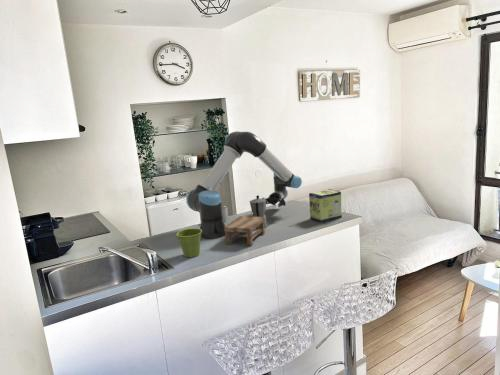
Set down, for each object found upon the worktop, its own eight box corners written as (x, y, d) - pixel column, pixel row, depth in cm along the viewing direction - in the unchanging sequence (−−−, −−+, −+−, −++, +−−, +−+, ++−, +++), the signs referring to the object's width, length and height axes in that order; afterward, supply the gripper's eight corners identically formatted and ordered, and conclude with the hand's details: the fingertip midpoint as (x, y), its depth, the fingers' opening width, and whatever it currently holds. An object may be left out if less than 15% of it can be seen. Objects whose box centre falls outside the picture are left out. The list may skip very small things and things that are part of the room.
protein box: (309, 219, 222) (308, 193, 219) (330, 214, 229) (329, 188, 226) (321, 222, 213) (319, 195, 210) (342, 217, 220) (341, 191, 217)
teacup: (220, 224, 225) (219, 211, 223) (207, 222, 232) (205, 209, 230) (235, 218, 236) (234, 205, 234) (222, 216, 242) (221, 204, 241)
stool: (225, 244, 189) (223, 227, 187) (241, 232, 207) (239, 216, 205) (251, 246, 184) (250, 228, 182) (265, 233, 202) (264, 216, 200)
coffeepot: (252, 223, 222) (250, 193, 218) (268, 222, 221) (266, 192, 217) (250, 231, 207) (247, 199, 203) (267, 231, 206) (265, 198, 202)
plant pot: (180, 251, 184) (177, 229, 182) (204, 249, 185) (202, 227, 182) (177, 261, 172) (174, 237, 170) (203, 258, 173) (201, 234, 171)
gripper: (295, 204, 234) (285, 213, 215) (257, 203, 243) (245, 212, 224) (294, 192, 233) (285, 200, 213) (256, 192, 242) (244, 199, 223)
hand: (264, 206), depth 219 cm, fingers open, 13 cm apart
